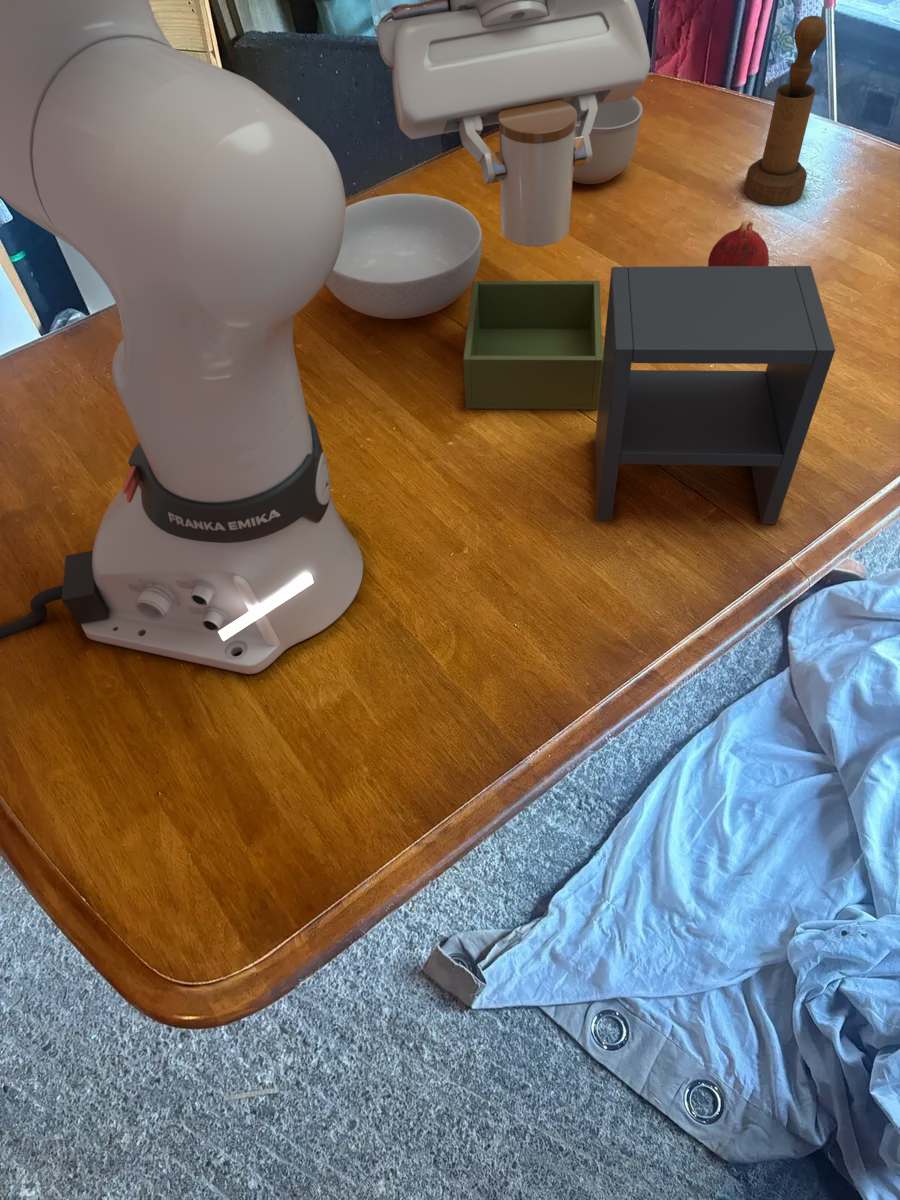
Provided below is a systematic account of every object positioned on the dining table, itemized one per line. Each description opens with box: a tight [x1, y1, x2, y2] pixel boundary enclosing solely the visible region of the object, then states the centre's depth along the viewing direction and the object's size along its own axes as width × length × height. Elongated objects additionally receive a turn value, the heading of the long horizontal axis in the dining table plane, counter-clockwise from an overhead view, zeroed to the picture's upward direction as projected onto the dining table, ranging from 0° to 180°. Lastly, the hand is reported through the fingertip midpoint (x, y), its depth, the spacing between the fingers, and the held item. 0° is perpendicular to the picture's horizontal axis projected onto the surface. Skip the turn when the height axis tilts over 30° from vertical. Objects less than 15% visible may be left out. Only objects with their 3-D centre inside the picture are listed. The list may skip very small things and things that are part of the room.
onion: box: [707, 219, 770, 266], centre depth 89 cm, size 6×6×8 cm
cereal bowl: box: [325, 193, 483, 320], centre depth 92 cm, size 17×17×7 cm
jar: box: [497, 99, 577, 248], centre depth 71 cm, size 6×6×9 cm
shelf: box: [594, 265, 836, 525], centre depth 69 cm, size 14×10×17 cm
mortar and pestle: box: [743, 15, 827, 206], centre depth 97 cm, size 7×6×18 cm
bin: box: [462, 280, 603, 411], centre depth 84 cm, size 12×12×6 cm
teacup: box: [572, 95, 644, 185], centre depth 105 cm, size 14×11×8 cm
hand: (539, 171), depth 71 cm, fingers closed on jar, 6 cm apart
